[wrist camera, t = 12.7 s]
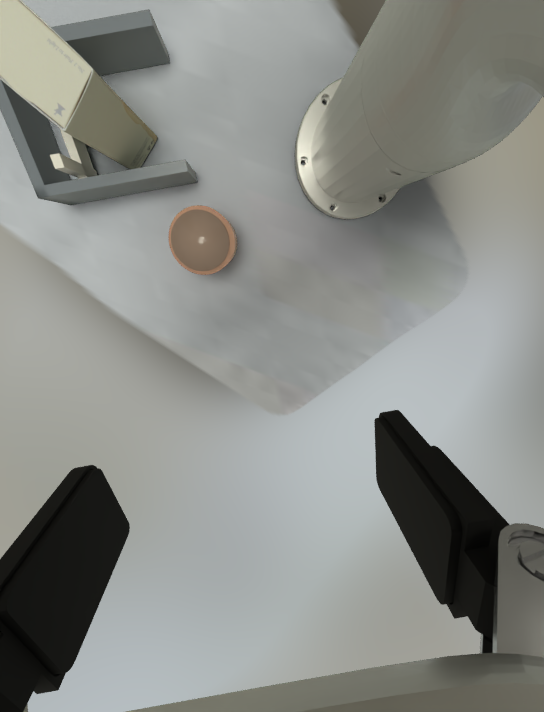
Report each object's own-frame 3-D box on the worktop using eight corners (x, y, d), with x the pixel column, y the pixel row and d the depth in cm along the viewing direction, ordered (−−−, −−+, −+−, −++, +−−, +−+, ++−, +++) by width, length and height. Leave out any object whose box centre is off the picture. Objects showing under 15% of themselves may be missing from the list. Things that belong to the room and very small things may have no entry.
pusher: (65, 82, 26) (16, 40, 21) (100, 184, 30) (65, 171, 24) (57, 84, 26) (5, 41, 21) (93, 186, 30) (56, 172, 24)
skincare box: (159, 138, 29) (100, 70, 18) (136, 176, 30) (66, 135, 19) (102, 85, 27) (-5, -28, 16) (79, 127, 28) (-36, 49, 17)
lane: (167, 50, 26) (149, 9, 22) (197, 182, 30) (187, 171, 26) (20, 77, 26) (-29, 41, 22) (70, 205, 30) (38, 198, 26)
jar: (231, 208, 32) (225, 198, 24) (242, 263, 34) (239, 269, 27) (178, 218, 32) (157, 210, 24) (193, 272, 34) (177, 280, 27)
